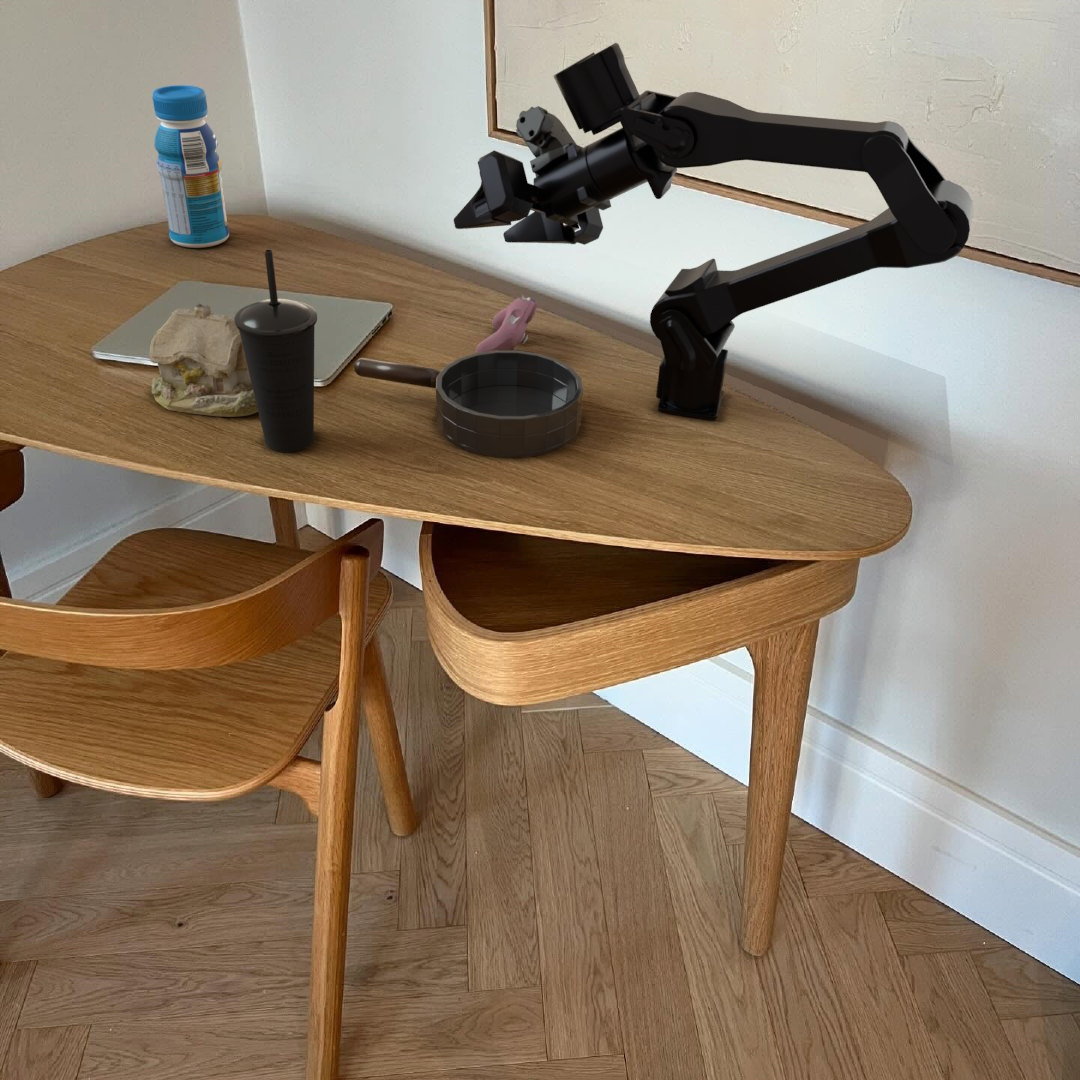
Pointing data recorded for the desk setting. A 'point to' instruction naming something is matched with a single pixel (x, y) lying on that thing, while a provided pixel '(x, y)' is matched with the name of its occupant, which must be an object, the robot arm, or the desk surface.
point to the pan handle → (396, 372)
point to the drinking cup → (281, 365)
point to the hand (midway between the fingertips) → (480, 231)
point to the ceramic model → (201, 365)
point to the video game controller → (510, 326)
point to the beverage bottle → (189, 168)
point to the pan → (508, 403)
